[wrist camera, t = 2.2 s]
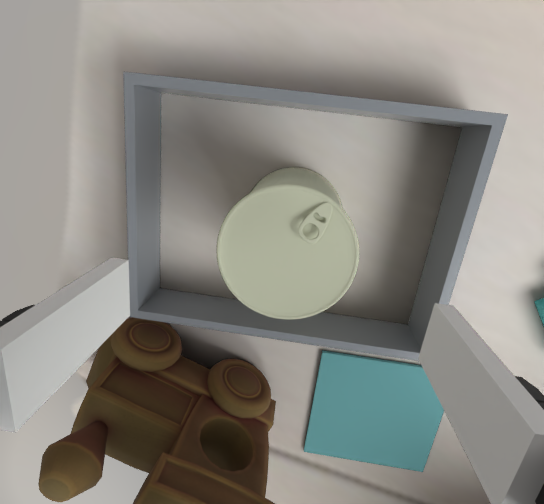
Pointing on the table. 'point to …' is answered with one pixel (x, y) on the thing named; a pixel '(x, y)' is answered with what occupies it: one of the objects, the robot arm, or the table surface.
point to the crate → (323, 326)
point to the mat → (373, 411)
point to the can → (288, 246)
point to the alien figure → (540, 308)
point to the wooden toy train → (166, 424)
